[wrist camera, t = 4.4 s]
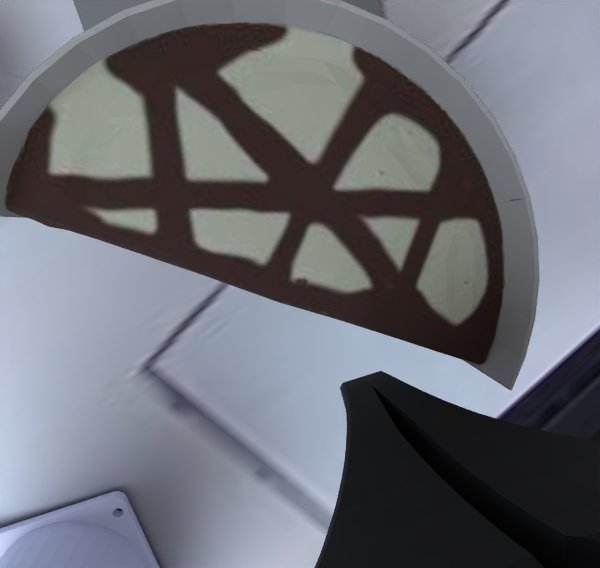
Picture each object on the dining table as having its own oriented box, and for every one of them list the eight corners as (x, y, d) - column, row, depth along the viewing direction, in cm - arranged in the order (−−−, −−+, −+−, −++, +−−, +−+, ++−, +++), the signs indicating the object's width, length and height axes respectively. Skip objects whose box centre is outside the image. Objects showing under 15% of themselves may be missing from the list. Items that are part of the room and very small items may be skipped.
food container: (423, 180, 17) (664, 131, 7) (376, 296, 18) (530, 396, 8) (172, 70, 14) (0, -241, 5) (132, 210, 15) (-86, 201, 5)
